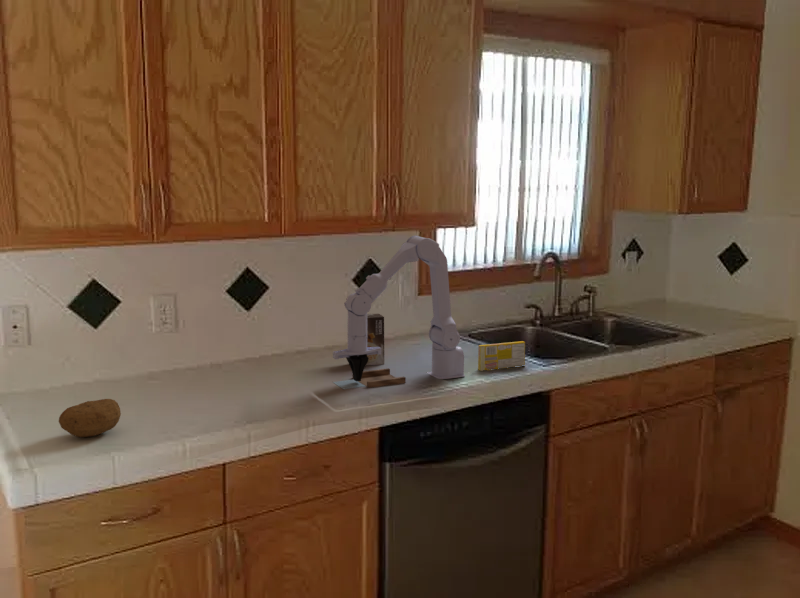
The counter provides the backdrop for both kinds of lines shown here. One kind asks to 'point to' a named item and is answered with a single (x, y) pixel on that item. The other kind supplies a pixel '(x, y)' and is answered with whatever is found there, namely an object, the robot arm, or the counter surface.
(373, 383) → the tray
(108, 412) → the potato
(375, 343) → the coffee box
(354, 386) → the cover plate
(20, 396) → the counter surface
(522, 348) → the candy box
